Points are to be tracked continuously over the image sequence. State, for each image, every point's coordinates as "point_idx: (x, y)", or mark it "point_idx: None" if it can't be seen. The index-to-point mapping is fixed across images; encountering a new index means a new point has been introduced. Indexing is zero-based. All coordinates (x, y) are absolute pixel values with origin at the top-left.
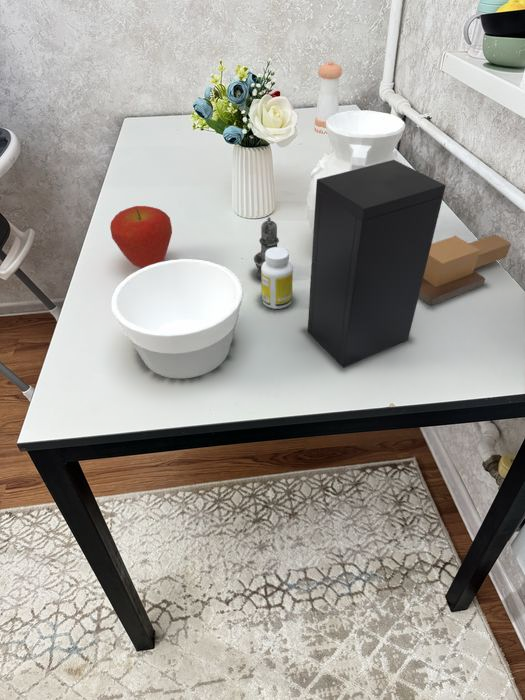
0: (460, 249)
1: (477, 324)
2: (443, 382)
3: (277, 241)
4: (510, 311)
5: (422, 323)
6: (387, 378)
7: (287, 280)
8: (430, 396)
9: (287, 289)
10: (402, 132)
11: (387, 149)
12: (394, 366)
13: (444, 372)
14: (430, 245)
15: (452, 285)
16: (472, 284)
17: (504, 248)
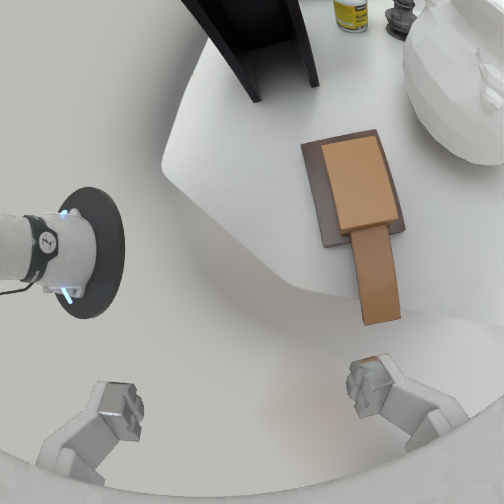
0: (352, 196)
1: (250, 186)
2: (193, 115)
3: (400, 4)
4: (258, 243)
5: (274, 126)
6: (216, 76)
7: (335, 4)
8: (186, 101)
9: (337, 12)
10: (499, 15)
11: (466, 6)
12: (226, 83)
13: (202, 120)
14: (199, 23)
15: (322, 187)
16: (318, 219)
17: (362, 310)
